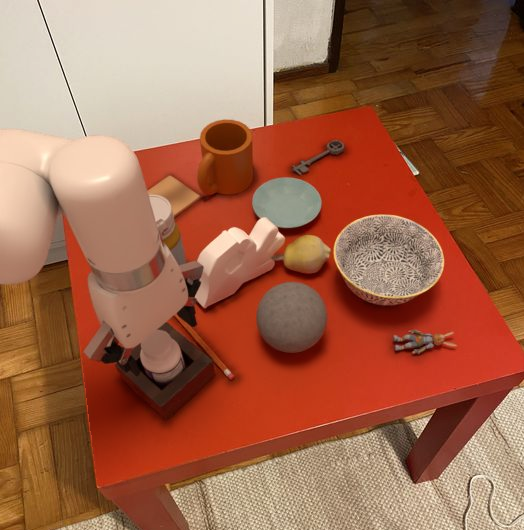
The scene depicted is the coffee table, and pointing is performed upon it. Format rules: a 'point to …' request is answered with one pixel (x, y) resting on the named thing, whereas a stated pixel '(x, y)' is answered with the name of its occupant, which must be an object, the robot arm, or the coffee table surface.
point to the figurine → (421, 341)
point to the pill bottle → (161, 358)
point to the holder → (181, 386)
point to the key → (329, 150)
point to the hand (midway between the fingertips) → (160, 343)
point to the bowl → (388, 259)
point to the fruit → (305, 254)
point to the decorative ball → (291, 317)
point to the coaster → (175, 194)
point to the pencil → (205, 348)
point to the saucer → (287, 202)
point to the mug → (225, 158)
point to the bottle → (169, 227)
